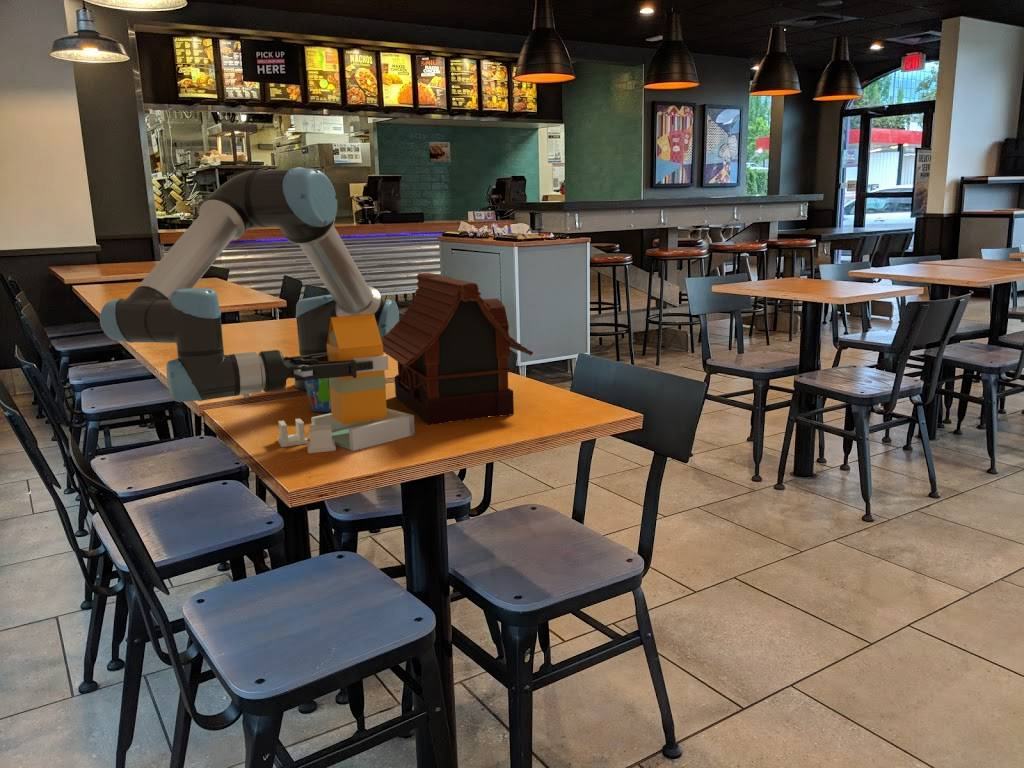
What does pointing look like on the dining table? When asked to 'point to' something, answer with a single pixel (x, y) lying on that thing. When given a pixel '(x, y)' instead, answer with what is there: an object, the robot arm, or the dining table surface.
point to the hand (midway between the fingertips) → (379, 359)
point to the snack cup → (319, 394)
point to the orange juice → (368, 388)
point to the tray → (368, 430)
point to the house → (452, 352)
